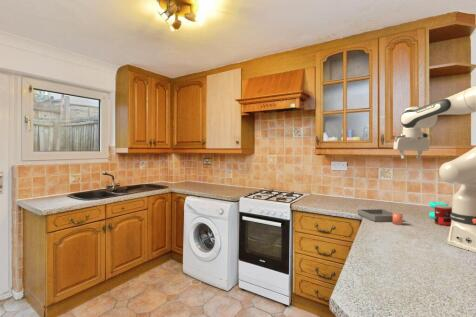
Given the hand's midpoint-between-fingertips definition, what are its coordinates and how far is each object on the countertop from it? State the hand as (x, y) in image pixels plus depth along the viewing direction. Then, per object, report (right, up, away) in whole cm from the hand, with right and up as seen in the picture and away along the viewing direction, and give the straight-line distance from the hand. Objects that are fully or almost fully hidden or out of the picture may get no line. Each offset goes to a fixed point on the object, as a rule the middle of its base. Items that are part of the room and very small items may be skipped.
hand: (410, 158), depth 149 cm
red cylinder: (-6, -39, +3) cm, 40 cm away
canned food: (+21, -40, +2) cm, 45 cm away
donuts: (+30, -40, +18) cm, 53 cm away
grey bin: (-10, -39, +16) cm, 43 cm away
